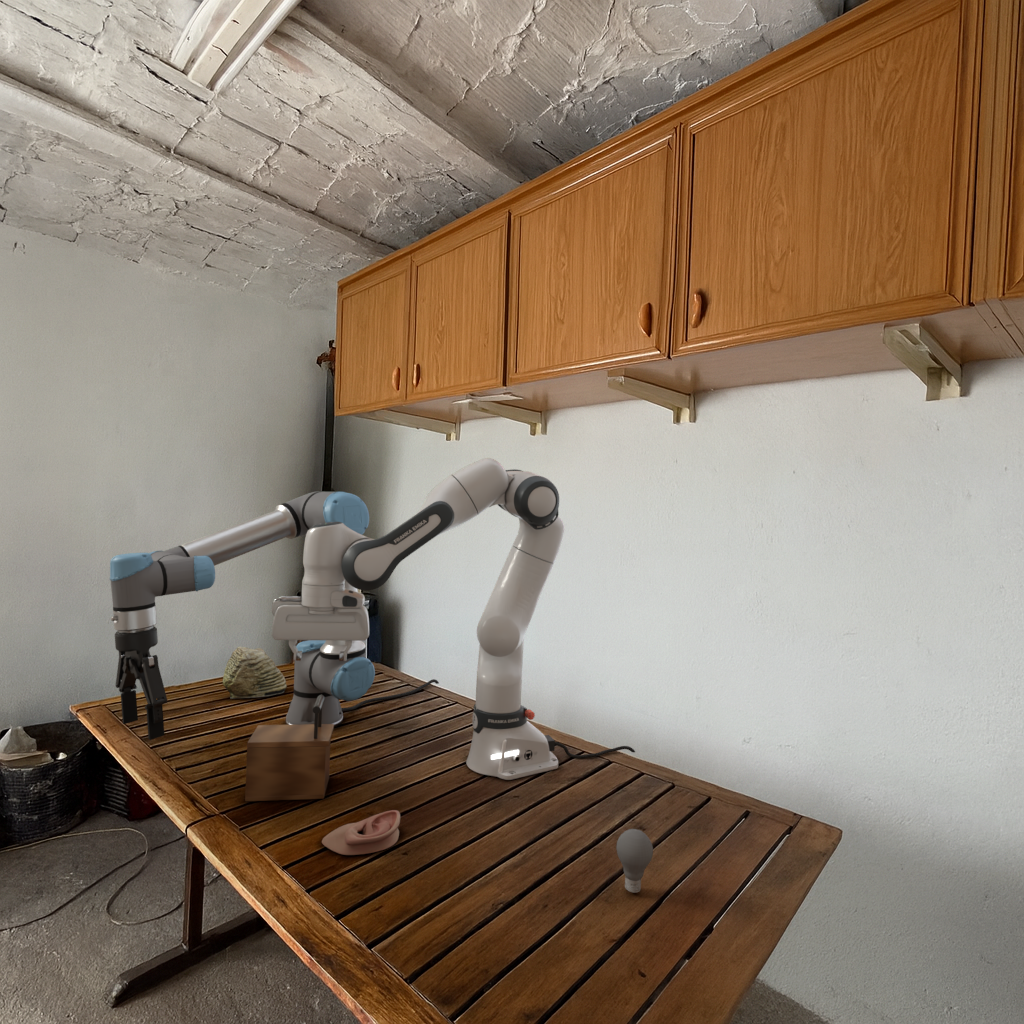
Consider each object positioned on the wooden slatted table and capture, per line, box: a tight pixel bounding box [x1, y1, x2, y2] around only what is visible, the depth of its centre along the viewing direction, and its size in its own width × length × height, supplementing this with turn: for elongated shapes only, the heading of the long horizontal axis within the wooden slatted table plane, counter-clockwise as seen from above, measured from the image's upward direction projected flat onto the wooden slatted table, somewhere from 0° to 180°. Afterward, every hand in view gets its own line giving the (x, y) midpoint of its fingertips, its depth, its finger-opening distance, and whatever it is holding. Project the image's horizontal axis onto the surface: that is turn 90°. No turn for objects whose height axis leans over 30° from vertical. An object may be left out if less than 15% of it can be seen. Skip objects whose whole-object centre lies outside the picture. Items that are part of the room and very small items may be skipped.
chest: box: [244, 739, 332, 802], centre depth 136 cm, size 16×10×11 cm, turn 100°
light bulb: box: [615, 828, 654, 894], centre depth 106 cm, size 6×6×10 cm
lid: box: [246, 695, 335, 749], centre depth 136 cm, size 16×10×8 cm, turn 100°
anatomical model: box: [321, 809, 401, 856], centre depth 118 cm, size 13×4×12 cm
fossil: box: [222, 646, 288, 699], centre depth 198 cm, size 9×18×15 cm, turn 132°
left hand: (143, 729), depth 132 cm, fingers open, 13 cm apart
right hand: (320, 660), depth 137 cm, fingers open, 8 cm apart
